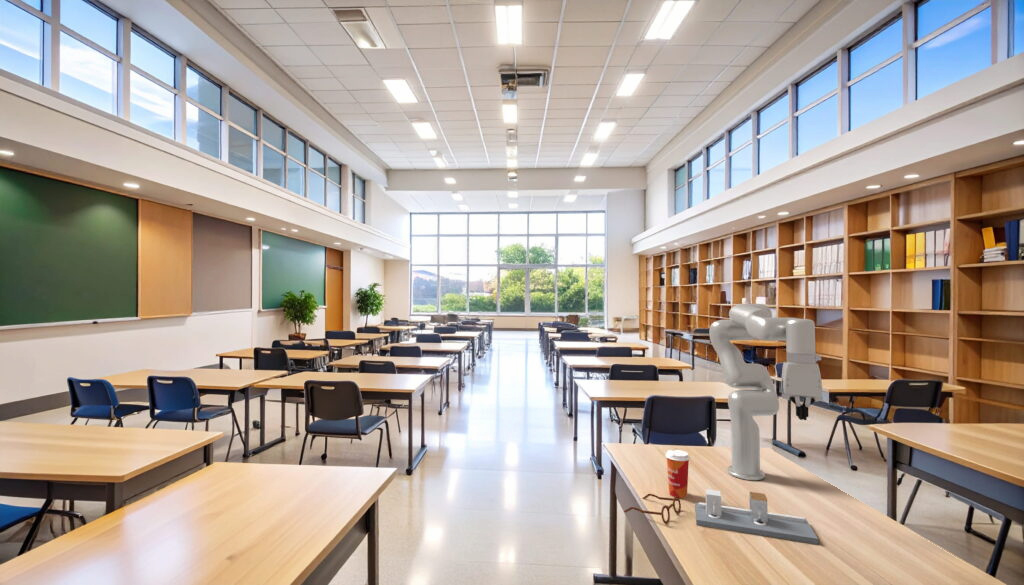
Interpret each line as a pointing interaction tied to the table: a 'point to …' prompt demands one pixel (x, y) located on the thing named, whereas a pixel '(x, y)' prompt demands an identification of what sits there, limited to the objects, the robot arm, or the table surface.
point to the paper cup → (677, 472)
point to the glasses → (662, 507)
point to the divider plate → (751, 521)
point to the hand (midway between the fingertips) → (802, 418)
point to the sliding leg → (758, 507)
